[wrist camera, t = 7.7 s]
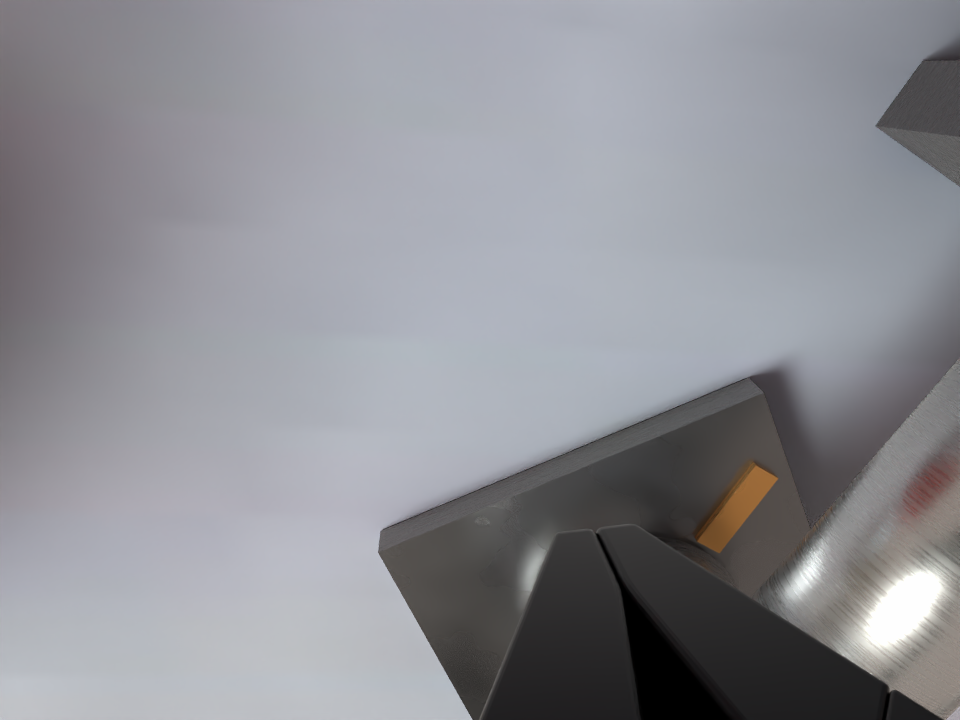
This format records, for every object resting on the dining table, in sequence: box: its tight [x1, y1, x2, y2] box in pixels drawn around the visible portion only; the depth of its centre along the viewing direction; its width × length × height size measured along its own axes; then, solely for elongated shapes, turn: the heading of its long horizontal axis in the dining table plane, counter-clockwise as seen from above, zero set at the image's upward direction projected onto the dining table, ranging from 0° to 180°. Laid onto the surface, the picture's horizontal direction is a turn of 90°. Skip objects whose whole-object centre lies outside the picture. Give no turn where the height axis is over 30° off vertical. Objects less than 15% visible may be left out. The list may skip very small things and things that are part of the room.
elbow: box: [751, 358, 960, 720], centre depth 15 cm, size 15×7×4 cm, turn 147°
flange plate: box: [378, 378, 810, 720], centre depth 20 cm, size 10×10×4 cm
